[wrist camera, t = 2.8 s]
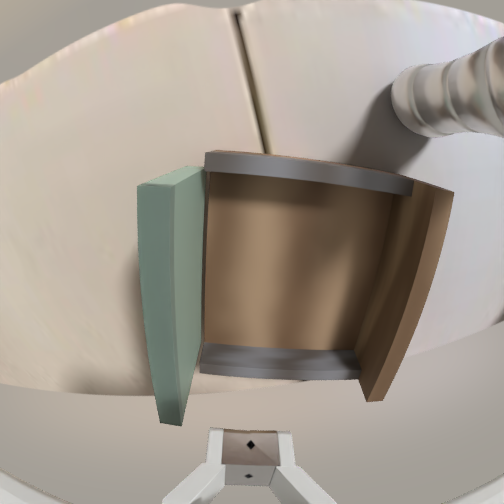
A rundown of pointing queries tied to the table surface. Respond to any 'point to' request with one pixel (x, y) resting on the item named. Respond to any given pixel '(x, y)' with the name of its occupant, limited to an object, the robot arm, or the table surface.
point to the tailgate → (172, 282)
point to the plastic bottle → (454, 94)
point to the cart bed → (316, 268)
